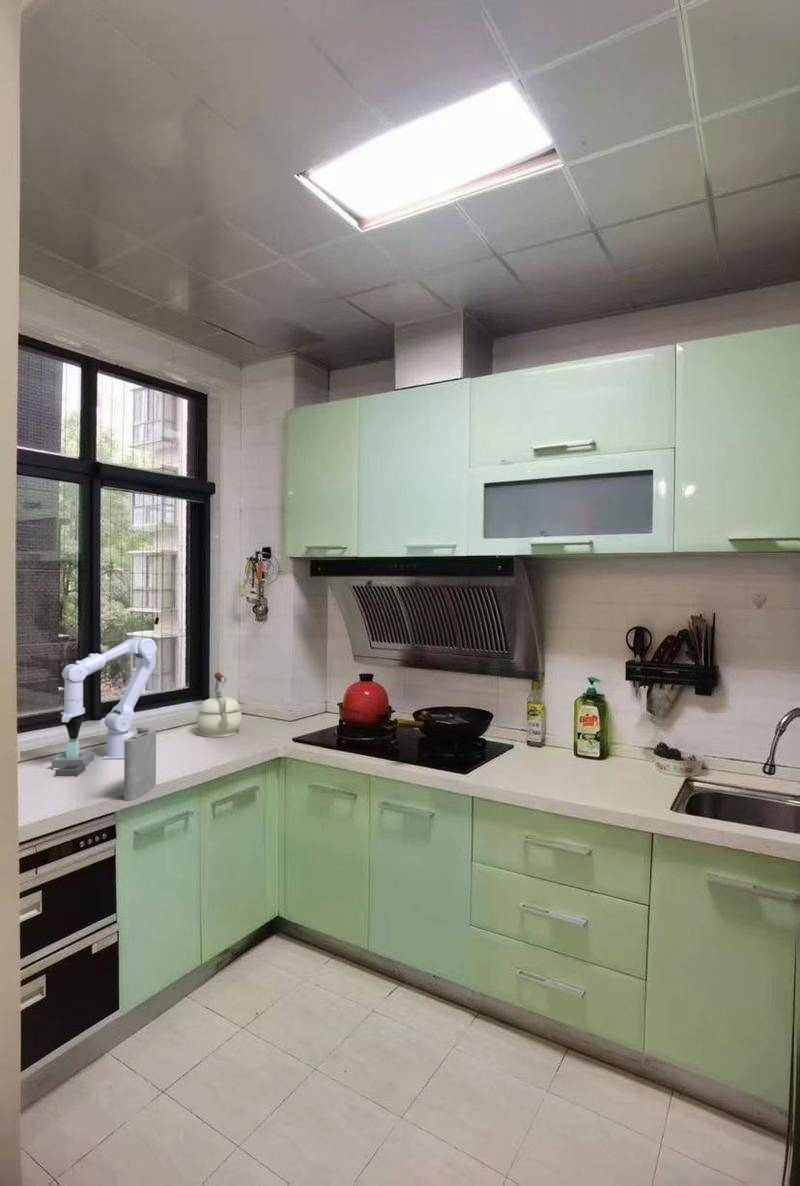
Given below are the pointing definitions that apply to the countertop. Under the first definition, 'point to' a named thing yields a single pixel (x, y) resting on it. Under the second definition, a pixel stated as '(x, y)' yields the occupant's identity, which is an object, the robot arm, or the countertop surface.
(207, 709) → the kettle
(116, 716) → the robot arm
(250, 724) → the countertop surface
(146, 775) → the hip flask
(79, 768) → the grey square base plate
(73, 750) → the plug
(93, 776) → the countertop surface
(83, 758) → the socket
